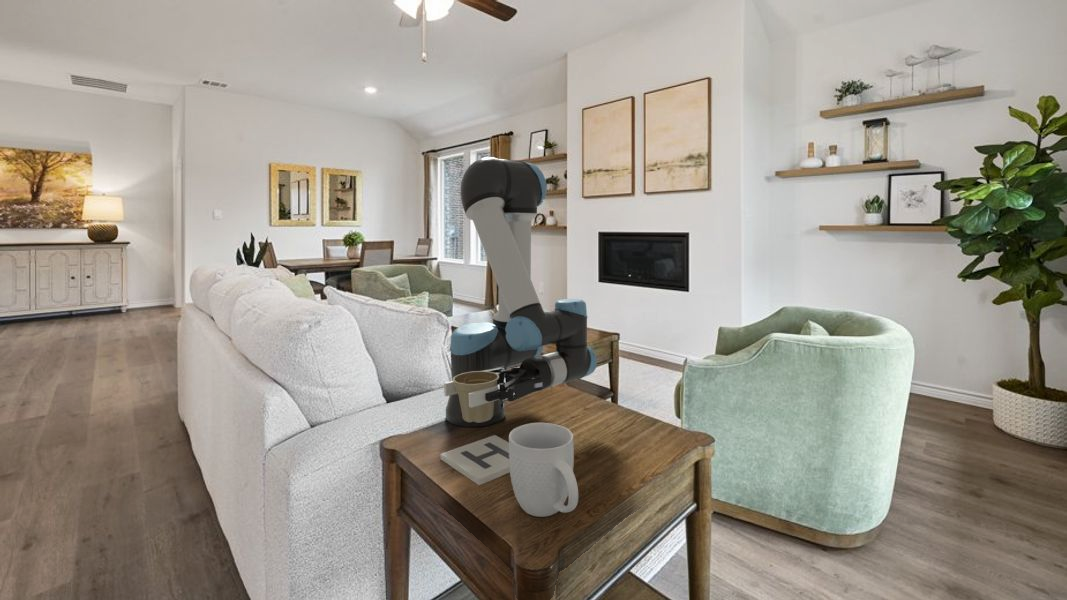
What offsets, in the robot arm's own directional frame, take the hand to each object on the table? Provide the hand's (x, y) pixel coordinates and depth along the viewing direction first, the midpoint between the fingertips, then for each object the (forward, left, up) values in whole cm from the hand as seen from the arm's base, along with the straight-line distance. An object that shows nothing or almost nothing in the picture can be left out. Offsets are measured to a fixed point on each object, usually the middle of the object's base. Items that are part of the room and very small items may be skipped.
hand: (457, 394), depth 97 cm
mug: (+23, +3, -15) cm, 28 cm away
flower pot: (0, +5, -6) cm, 8 cm away
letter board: (+2, +6, -15) cm, 16 cm away
